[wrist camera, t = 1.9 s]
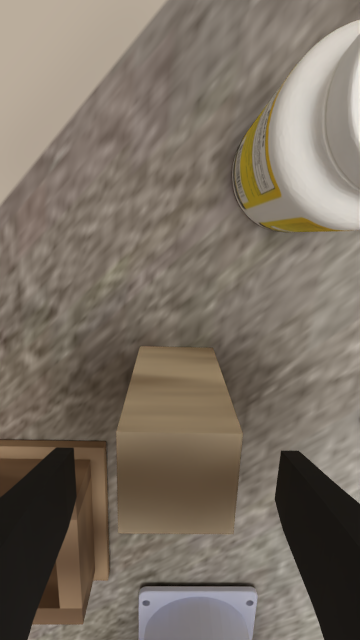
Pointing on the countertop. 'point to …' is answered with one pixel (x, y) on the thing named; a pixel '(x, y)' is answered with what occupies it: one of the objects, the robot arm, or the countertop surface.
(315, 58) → the supplement bottle
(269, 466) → the countertop surface
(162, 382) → the peg
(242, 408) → the countertop surface
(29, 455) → the wooden peg socket
